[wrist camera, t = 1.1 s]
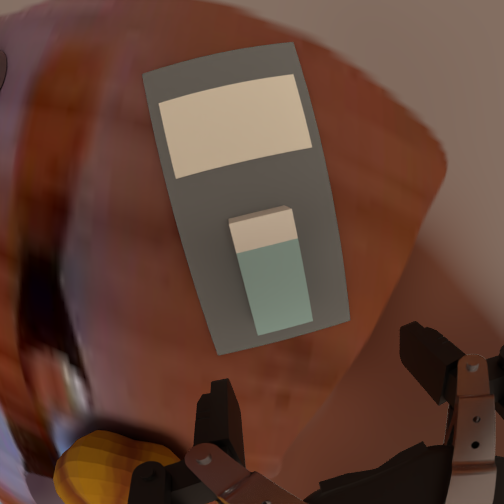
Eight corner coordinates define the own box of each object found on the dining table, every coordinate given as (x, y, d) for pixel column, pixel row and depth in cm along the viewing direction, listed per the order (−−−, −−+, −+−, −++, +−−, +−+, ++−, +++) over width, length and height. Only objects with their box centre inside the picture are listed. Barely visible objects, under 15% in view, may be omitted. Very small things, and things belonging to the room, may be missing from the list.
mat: (218, 352, 30) (218, 357, 29) (143, 76, 23) (141, 73, 22) (348, 317, 30) (351, 321, 29) (291, 44, 23) (293, 40, 22)
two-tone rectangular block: (254, 320, 28) (257, 335, 26) (228, 218, 26) (228, 224, 23) (304, 307, 29) (313, 321, 26) (284, 205, 26) (291, 208, 23)
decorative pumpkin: (236, 460, 35) (243, 548, 20) (155, 501, 37) (147, 565, 23) (111, 388, 30) (71, 484, 16) (56, 446, 33) (27, 511, 18)
